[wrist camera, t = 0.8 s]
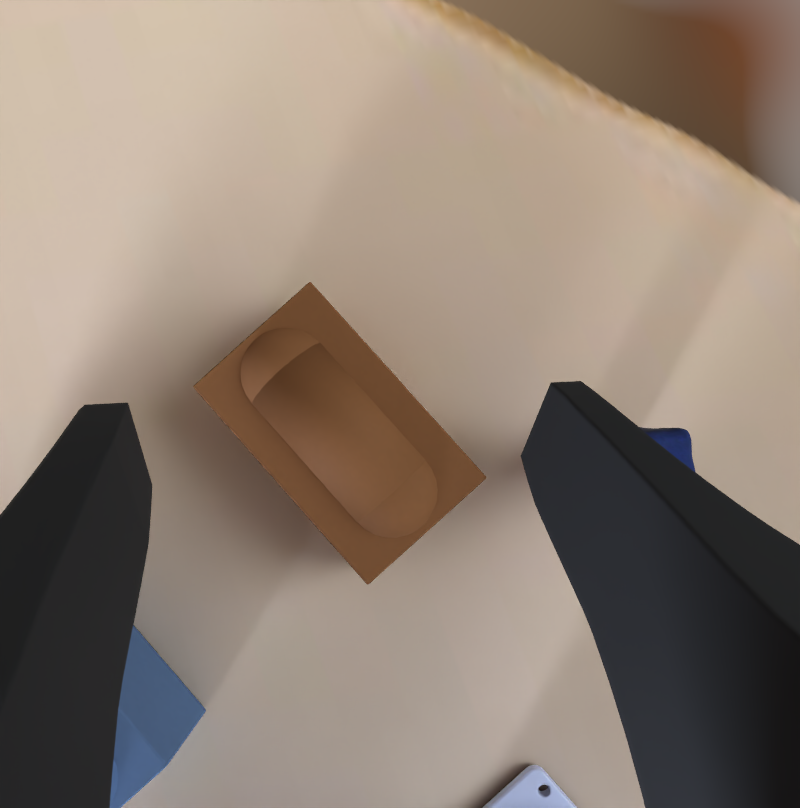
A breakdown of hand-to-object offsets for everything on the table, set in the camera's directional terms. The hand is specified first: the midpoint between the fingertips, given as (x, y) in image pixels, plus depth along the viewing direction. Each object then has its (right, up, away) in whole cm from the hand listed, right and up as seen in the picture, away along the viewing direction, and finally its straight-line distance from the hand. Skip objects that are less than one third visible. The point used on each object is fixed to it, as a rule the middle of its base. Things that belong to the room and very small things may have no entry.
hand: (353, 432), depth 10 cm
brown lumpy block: (-1, -1, +15) cm, 15 cm away
